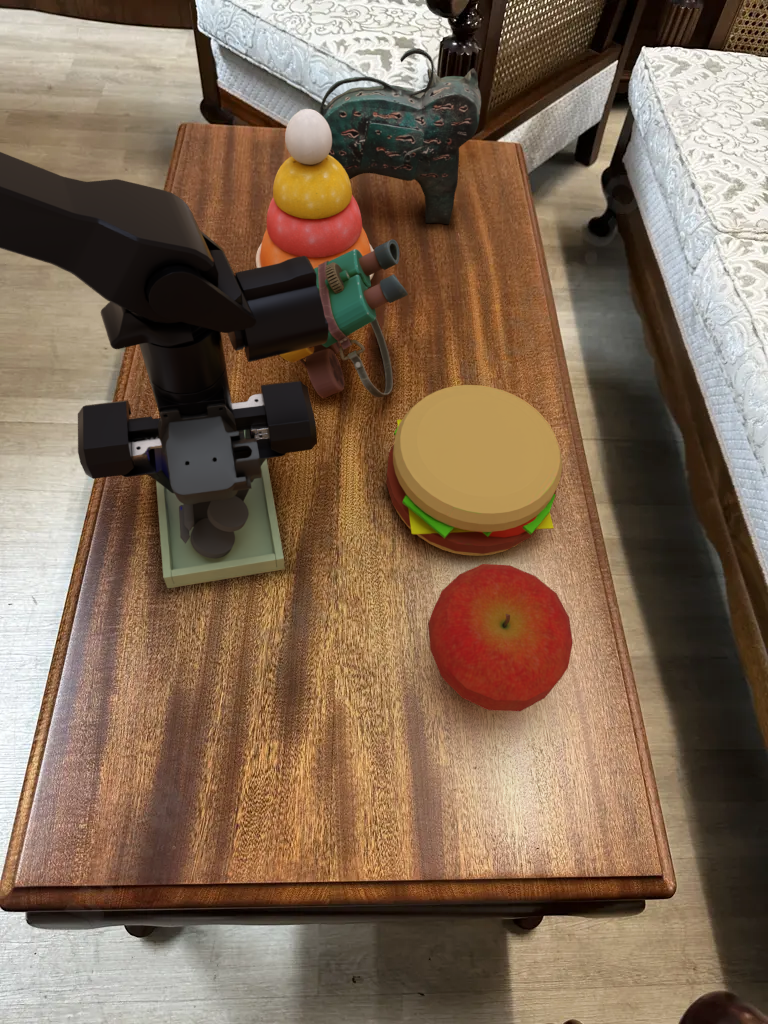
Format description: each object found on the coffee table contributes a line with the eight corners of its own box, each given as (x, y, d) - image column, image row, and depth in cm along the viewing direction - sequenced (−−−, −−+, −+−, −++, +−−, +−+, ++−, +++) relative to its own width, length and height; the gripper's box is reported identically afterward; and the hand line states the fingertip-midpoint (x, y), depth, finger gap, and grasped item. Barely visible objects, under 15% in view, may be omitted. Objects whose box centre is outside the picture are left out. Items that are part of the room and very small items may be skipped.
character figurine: (183, 571, 64) (179, 439, 72) (264, 559, 65) (252, 429, 73) (159, 526, 58) (158, 386, 65) (250, 513, 58) (238, 376, 66)
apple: (522, 758, 58) (565, 713, 48) (398, 706, 59) (414, 652, 49) (556, 639, 64) (601, 577, 53) (442, 594, 65) (465, 526, 55)
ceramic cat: (460, 205, 96) (490, 43, 79) (462, 236, 93) (494, 74, 76) (312, 193, 95) (310, 27, 78) (308, 224, 92) (305, 57, 75)
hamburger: (377, 430, 75) (383, 377, 68) (529, 426, 77) (549, 374, 70) (392, 569, 66) (400, 524, 59) (563, 561, 68) (589, 516, 61)
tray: (167, 588, 64) (163, 577, 62) (155, 435, 72) (151, 421, 71) (284, 569, 65) (283, 558, 64) (259, 422, 74) (257, 408, 72)
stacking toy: (373, 237, 91) (385, 77, 75) (376, 316, 84) (390, 157, 67) (260, 232, 90) (247, 69, 74) (253, 311, 83) (236, 149, 66)
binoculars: (330, 346, 85) (256, 257, 73) (438, 296, 81) (376, 192, 69) (340, 439, 78) (259, 357, 66) (459, 390, 73) (394, 292, 61)
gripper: (52, 469, 48) (110, 577, 61) (330, 433, 51) (327, 542, 64) (54, 349, 53) (106, 471, 66) (304, 323, 57) (306, 444, 70)
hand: (212, 484), depth 67 cm, fingers closed on character figurine, 6 cm apart
